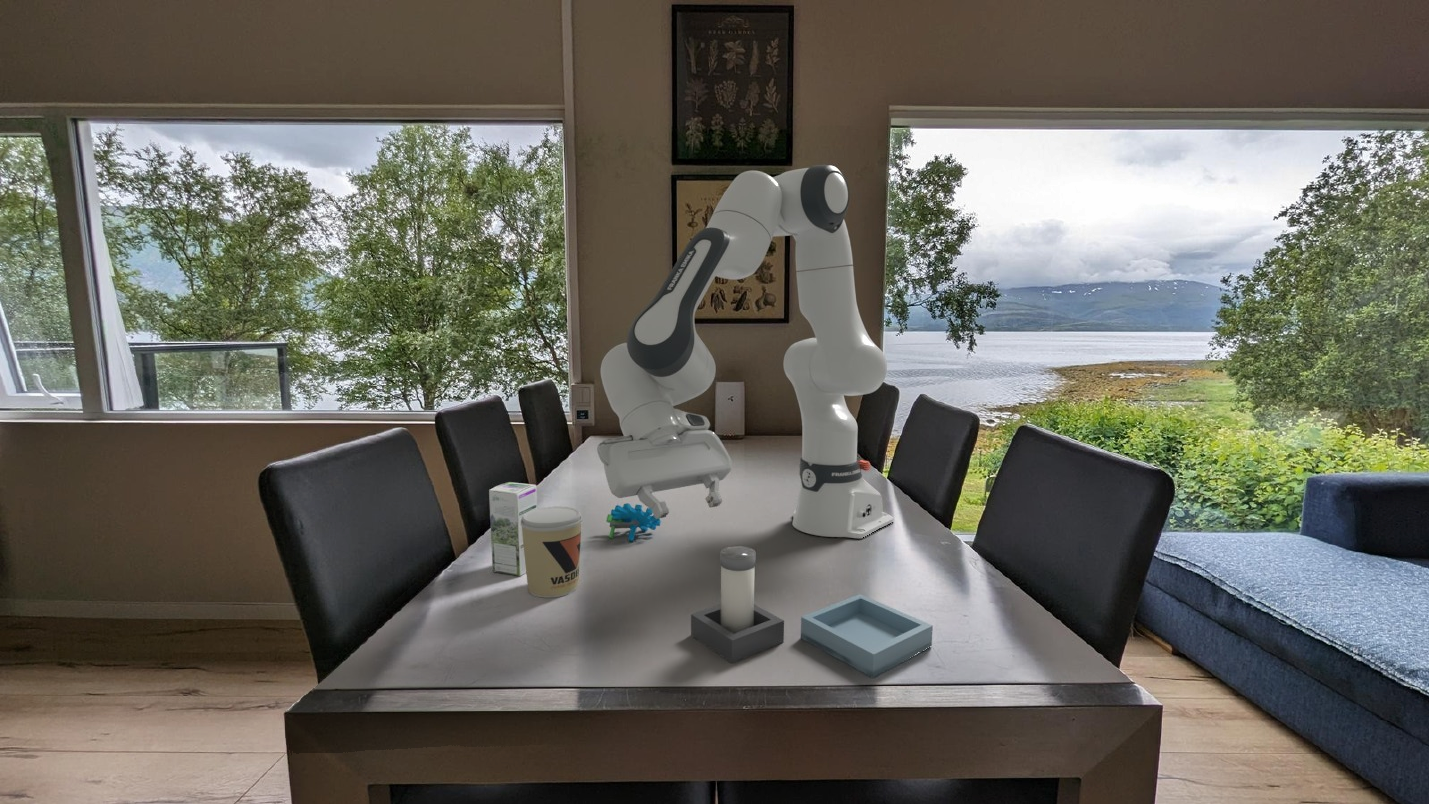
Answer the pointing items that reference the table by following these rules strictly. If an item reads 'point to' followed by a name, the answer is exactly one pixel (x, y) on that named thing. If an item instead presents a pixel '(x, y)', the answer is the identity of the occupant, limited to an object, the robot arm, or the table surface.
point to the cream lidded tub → (552, 550)
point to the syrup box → (509, 525)
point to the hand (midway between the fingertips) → (690, 510)
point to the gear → (631, 519)
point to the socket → (741, 643)
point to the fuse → (737, 588)
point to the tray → (866, 634)
